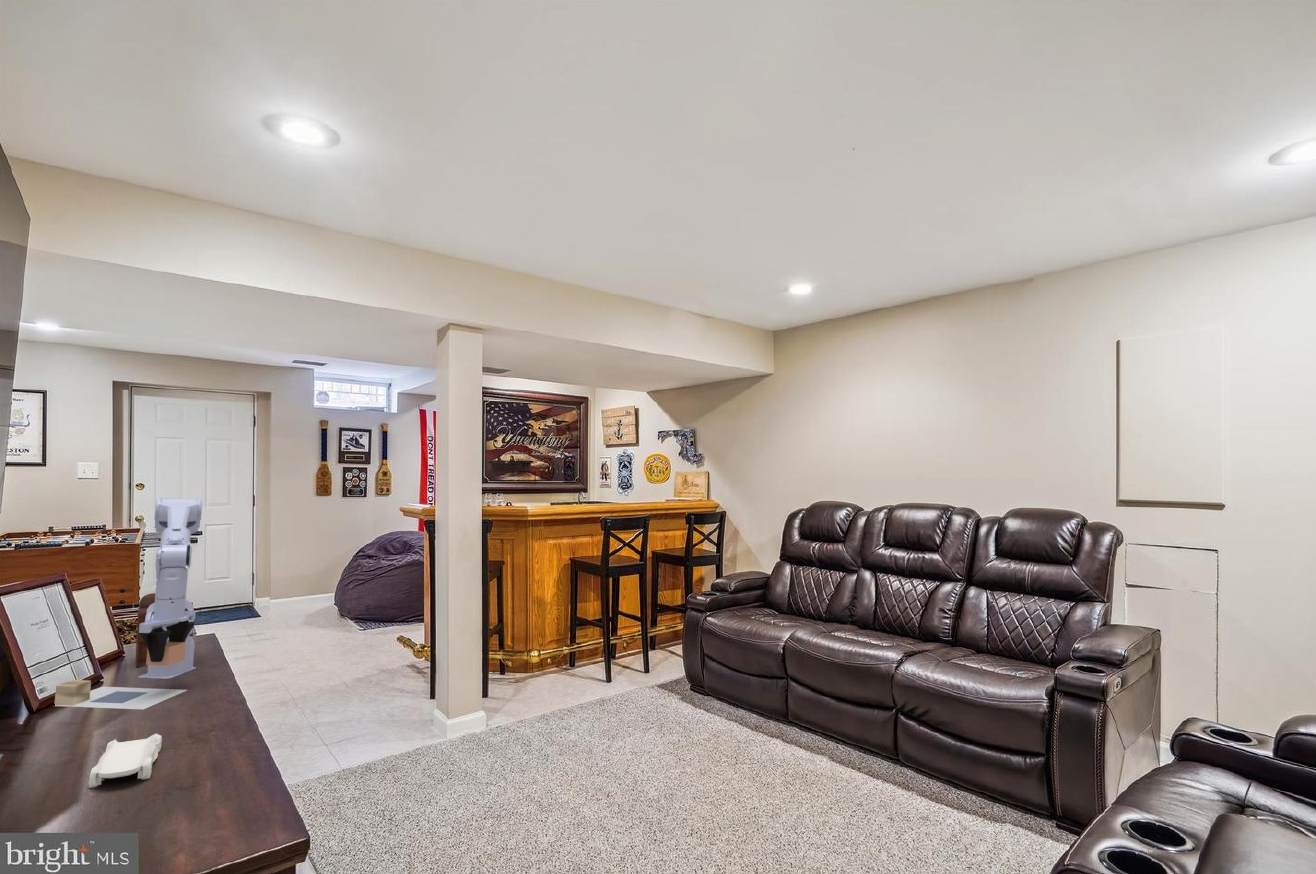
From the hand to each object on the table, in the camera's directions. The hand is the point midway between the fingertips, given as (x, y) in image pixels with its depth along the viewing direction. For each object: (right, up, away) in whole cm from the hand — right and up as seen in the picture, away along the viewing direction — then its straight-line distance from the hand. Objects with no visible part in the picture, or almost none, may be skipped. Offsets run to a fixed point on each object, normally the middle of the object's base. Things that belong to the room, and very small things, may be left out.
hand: (165, 658), depth 150 cm
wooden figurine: (-22, -9, +24) cm, 34 cm away
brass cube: (-14, -7, -8) cm, 18 cm away
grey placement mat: (-7, -8, -4) cm, 11 cm away
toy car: (+20, -7, -36) cm, 42 cm away
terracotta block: (0, -1, 0) cm, 1 cm away
